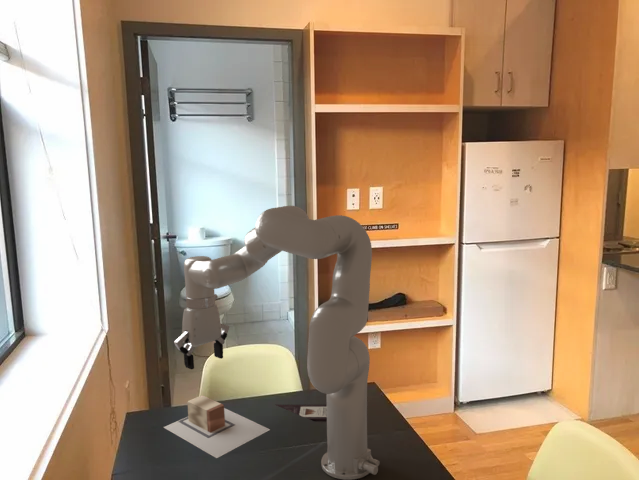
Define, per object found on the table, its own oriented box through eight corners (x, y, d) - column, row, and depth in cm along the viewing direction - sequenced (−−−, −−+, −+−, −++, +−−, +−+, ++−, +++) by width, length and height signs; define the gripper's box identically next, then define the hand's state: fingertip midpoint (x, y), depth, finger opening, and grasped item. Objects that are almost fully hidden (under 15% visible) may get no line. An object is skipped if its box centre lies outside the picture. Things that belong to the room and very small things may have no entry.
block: (188, 421, 147) (187, 401, 146) (203, 414, 151) (202, 395, 150) (210, 432, 141) (209, 411, 140) (225, 425, 144) (224, 405, 144)
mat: (270, 431, 142) (270, 429, 142) (216, 460, 129) (216, 457, 128) (216, 405, 158) (216, 403, 158) (163, 429, 144) (163, 426, 144)
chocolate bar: (271, 404, 157) (331, 404, 156) (271, 407, 157) (331, 407, 156) (267, 419, 148) (330, 419, 147) (267, 422, 148) (330, 422, 147)
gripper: (217, 293, 150) (221, 350, 152) (164, 307, 137) (169, 369, 140) (234, 297, 145) (237, 356, 147) (181, 311, 132) (185, 376, 135)
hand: (204, 362), depth 143 cm, fingers open, 9 cm apart
